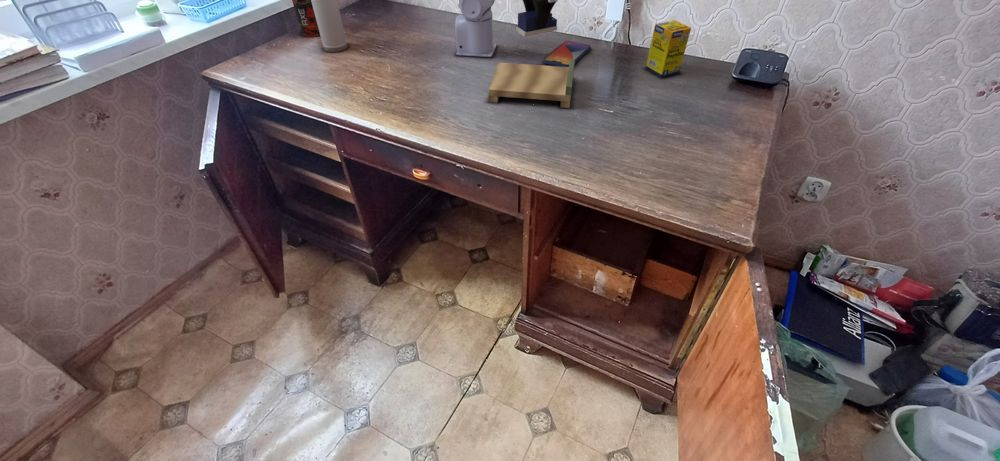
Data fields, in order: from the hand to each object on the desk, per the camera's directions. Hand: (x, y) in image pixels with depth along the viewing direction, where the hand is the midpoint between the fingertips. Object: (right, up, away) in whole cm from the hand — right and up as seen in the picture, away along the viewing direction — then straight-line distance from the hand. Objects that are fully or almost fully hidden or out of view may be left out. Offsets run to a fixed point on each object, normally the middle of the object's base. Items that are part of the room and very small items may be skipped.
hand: (536, 24), depth 115 cm
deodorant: (-63, +6, +19) cm, 66 cm away
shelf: (-2, -18, -7) cm, 19 cm away
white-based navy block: (0, -1, +1) cm, 1 cm away
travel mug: (-54, -1, +11) cm, 55 cm away
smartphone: (+9, -5, +7) cm, 12 cm away
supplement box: (+31, -11, 0) cm, 33 cm away
